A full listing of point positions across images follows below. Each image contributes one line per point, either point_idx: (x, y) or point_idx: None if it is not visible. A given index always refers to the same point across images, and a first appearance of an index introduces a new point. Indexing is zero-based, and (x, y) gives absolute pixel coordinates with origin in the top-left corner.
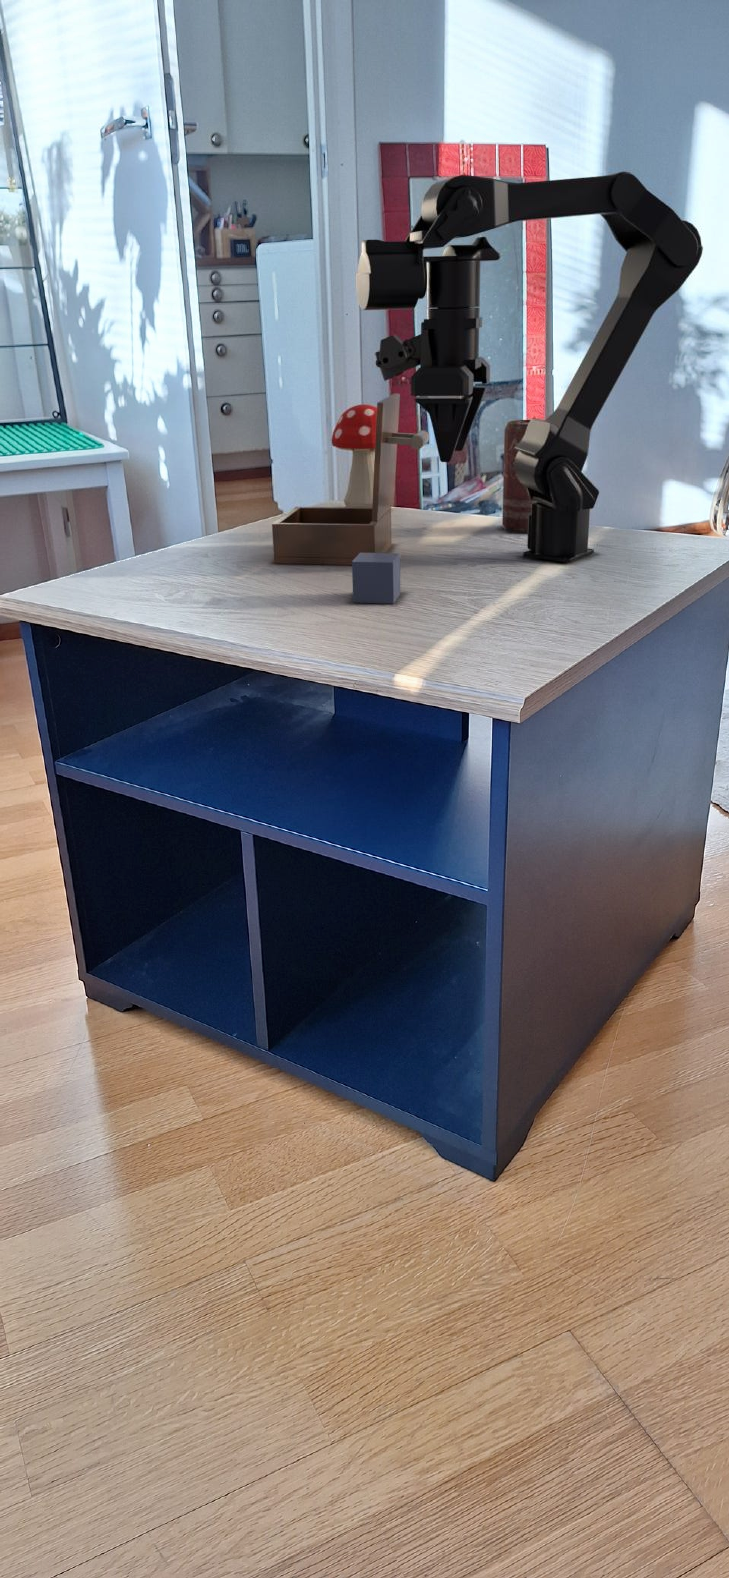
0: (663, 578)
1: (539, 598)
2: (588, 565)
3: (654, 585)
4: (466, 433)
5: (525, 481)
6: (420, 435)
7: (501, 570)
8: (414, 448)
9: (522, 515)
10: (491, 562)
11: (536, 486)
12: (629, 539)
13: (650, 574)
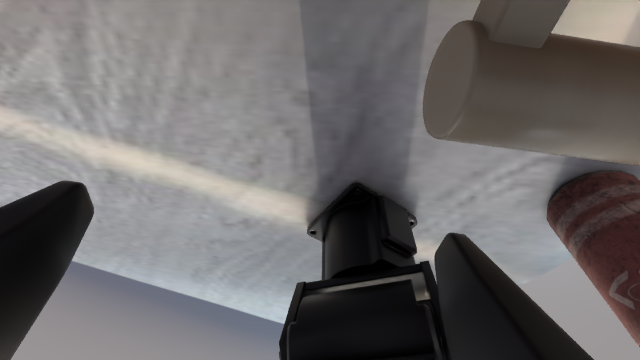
0: (237, 291)
1: (98, 180)
2: (301, 245)
3: (204, 282)
4: (449, 336)
5: (364, 292)
6: (511, 137)
7: (266, 145)
8: (437, 50)
9: (570, 215)
10: (328, 133)
11: (307, 300)
12: None
13: (255, 285)
